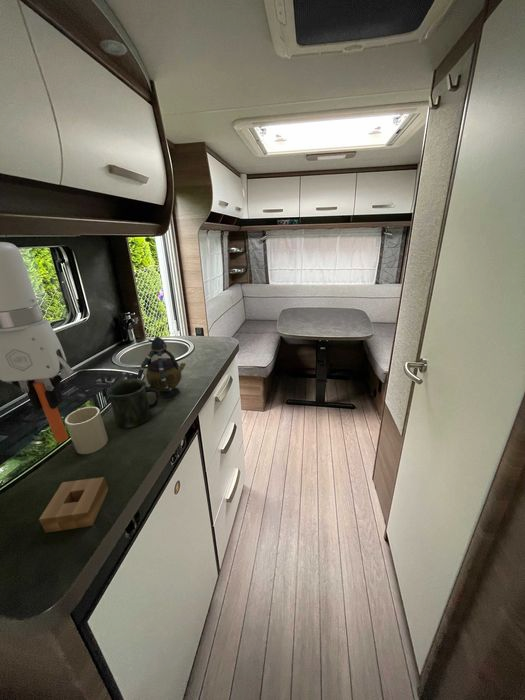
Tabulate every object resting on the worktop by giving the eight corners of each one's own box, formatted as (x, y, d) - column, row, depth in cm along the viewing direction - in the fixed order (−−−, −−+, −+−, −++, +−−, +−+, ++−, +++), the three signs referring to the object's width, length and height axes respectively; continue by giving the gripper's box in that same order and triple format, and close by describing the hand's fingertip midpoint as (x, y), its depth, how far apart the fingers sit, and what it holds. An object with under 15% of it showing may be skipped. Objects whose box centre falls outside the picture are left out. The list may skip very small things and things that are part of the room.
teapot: (140, 407, 97) (125, 345, 88) (172, 373, 120) (162, 322, 111) (172, 409, 95) (160, 346, 86) (198, 375, 118) (191, 322, 109)
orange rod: (53, 443, 58) (30, 384, 53) (59, 436, 60) (37, 379, 55) (64, 442, 58) (42, 383, 53) (70, 435, 60) (49, 378, 55)
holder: (45, 533, 56) (38, 519, 55) (67, 494, 64) (62, 482, 63) (92, 525, 57) (87, 512, 56) (108, 489, 65) (104, 476, 64)
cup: (70, 456, 76) (58, 426, 72) (83, 436, 83) (73, 408, 80) (101, 452, 77) (92, 422, 73) (112, 432, 84) (104, 405, 81)
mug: (118, 413, 94) (109, 382, 89) (163, 404, 98) (157, 374, 93) (112, 433, 84) (102, 399, 80) (162, 422, 88) (156, 390, 84)
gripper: (-55, 326, 44) (-9, 421, 52) (52, 320, 46) (82, 412, 53) (-18, 314, 51) (19, 399, 58) (74, 309, 53) (98, 392, 60)
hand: (49, 405), depth 56 cm, fingers closed on orange rod, 2 cm apart
